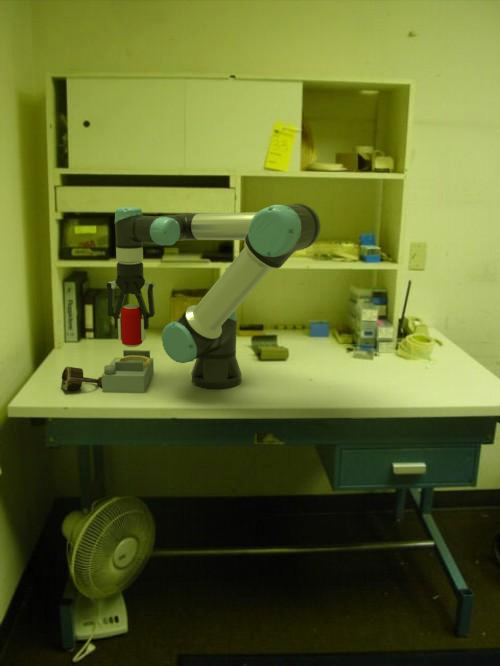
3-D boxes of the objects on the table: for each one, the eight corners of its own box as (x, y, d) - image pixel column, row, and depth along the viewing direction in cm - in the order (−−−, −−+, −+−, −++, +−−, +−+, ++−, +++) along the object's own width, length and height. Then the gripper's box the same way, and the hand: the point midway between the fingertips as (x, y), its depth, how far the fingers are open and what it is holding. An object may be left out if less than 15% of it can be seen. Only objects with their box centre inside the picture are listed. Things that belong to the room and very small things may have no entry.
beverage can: (138, 341, 187) (137, 302, 184) (146, 346, 182) (145, 307, 179) (118, 344, 184) (117, 304, 181) (126, 349, 179) (125, 309, 176)
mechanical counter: (61, 365, 182) (54, 369, 172) (104, 360, 183) (100, 363, 173) (64, 389, 182) (57, 394, 172) (107, 384, 183) (103, 389, 174)
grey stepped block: (153, 373, 192) (153, 350, 190) (144, 392, 176) (143, 367, 174) (115, 372, 192) (114, 349, 190) (102, 391, 176) (101, 367, 174)
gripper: (164, 260, 180) (166, 336, 186) (99, 259, 180) (103, 335, 186) (161, 264, 173) (162, 343, 179) (93, 263, 173) (96, 342, 179)
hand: (132, 339), depth 183 cm, fingers closed on beverage can, 6 cm apart
